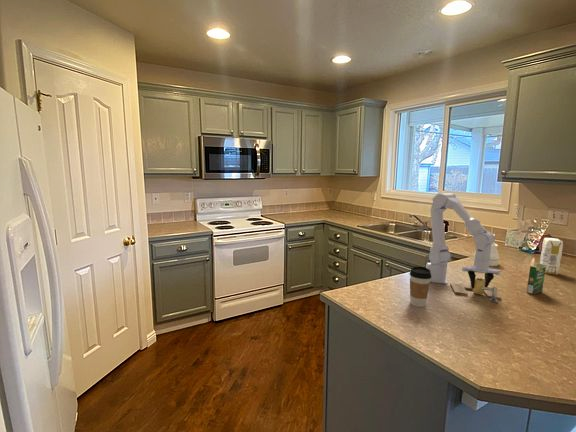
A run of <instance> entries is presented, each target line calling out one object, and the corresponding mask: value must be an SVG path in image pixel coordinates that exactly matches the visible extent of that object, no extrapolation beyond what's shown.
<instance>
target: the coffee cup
mask: <svg viewBox="0 0 576 432" xmlns="http://www.w3.org/2000/svg"><path fill="white" fill-rule="evenodd" d="M409 276H410V278H409V296H410V297H409V301H410V305H412V306H414V307H417V308H424V307H426V304H427V299H428V294H429V289H430V286H431V282H430V278H432V276H431V271H430V270H429V269H428V268H426V266H425V267H424V266H412V267H411V268H410V271H409Z"/></svg>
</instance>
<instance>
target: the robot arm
mask: <svg viewBox="0 0 576 432" xmlns="http://www.w3.org/2000/svg"><path fill="white" fill-rule="evenodd" d="M447 209H450V210H453V211H454V212H455V213H456V214H457V215H458V216H459V218H460V219H461V220H462V221H463V222H464V227H465V228H466V229H467V231H468V232H469V233H470V234H471V236H472V237H473V241H474V243H475V245H476V246H475V251H474V253H475V260H474V259H473V260H474V261H473V266H467V265H466V266H465V265H462V268H461V271H462V272H464V273H465V272H467V275H468V277H469V280H470V285H471V287H472V288H474V282H475V278H477V277H476V276H477V274H476V273H478V274H484V279H485V280H486V282H485V287H488V286H489V285H490V283H491V281H492V280H494V278H495V275H496V276H500V275H501V270H500V269H494V268H490V266H489V261H490V253H491V245H490V244H492V243H494V242H495V239H496V238H495V237H494V235H493V234H494V233H492V231H488V229H487V228H485V227H484V226H483V225H482V224H481V220H480V219H477V218H476V217H475V218H474V217H472V216H471V215H470V213H468V211H467V209H466V208H465V207H464V205H463V204H462V203H461V202H460V198H459V197H457V195H456V194H455V193H452V192H449V193H437V194H436V195H435V196H434V197H432V205H431V206H430V219H431V221H430V223H431V234H432V235H431V236H432V246H431V247H430V249H429V254H428V259H429V262H426V265H425V268H428V269H429V270H430V271H431V276H432V278H430V283H438V284H446V285H448V281H447V271H448V270H447V269H448V263H449V261H450V260H451V259H452V254H451V252H450V250H449V246H447V244H446V238H445V237H446V236H445V235H446V234H445V224H444V223H445V222H444V212H445V211H447Z"/></svg>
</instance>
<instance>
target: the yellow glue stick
mask: <svg viewBox="0 0 576 432" xmlns="http://www.w3.org/2000/svg"><path fill="white" fill-rule="evenodd" d="M485 282H486V280H485V278H482V277H475V282H474V288H473V291H472V293H474V294H477V295H485V294H484V290H483V289H481V286H482V287H485Z"/></svg>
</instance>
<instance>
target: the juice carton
mask: <svg viewBox="0 0 576 432" xmlns="http://www.w3.org/2000/svg"><path fill="white" fill-rule="evenodd" d="M563 249H564V241H563V240H561V239H559V238H553V237H544V238H543V241H542V245H541V252H540V253H541V254H540V258H539V264H542V265H546V269H545V275H546V274H547V275H548V274H549V275H554V276H557V275H559V271H560V267H561V261H562V254H563Z"/></svg>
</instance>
